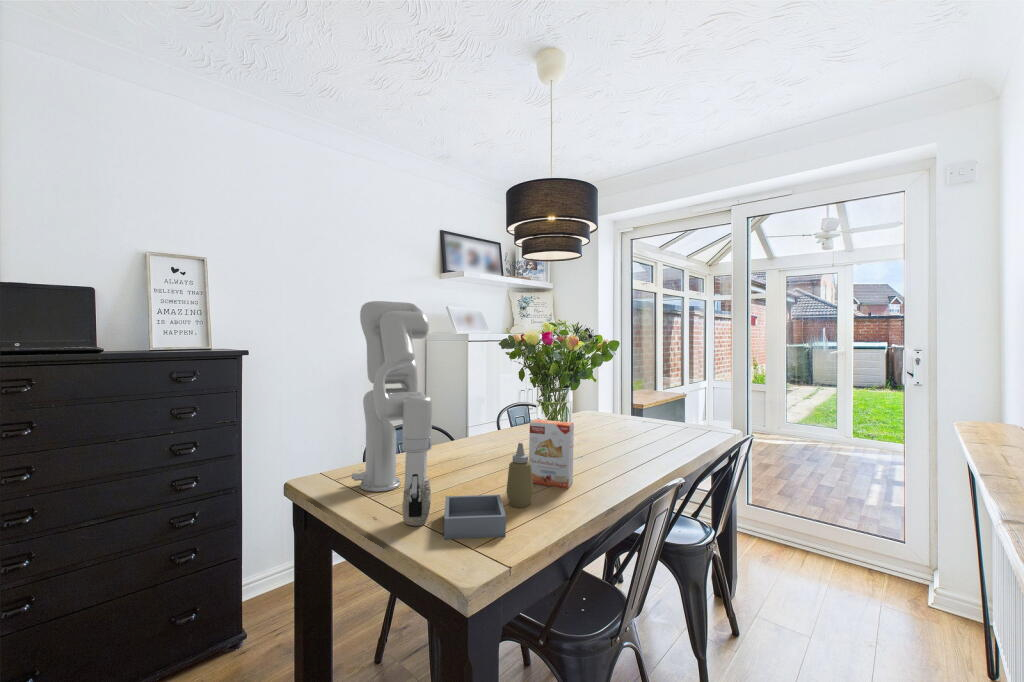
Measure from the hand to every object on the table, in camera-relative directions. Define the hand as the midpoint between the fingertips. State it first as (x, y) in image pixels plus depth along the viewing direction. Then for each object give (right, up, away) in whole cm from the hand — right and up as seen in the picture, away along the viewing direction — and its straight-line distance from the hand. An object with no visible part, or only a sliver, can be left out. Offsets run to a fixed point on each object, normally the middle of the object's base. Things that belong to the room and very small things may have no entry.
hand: (416, 510), depth 117 cm
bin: (+15, -3, -1) cm, 16 cm away
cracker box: (+38, -4, +32) cm, 50 cm away
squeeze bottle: (+27, -4, +14) cm, 31 cm away
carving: (0, -3, 0) cm, 3 cm away
